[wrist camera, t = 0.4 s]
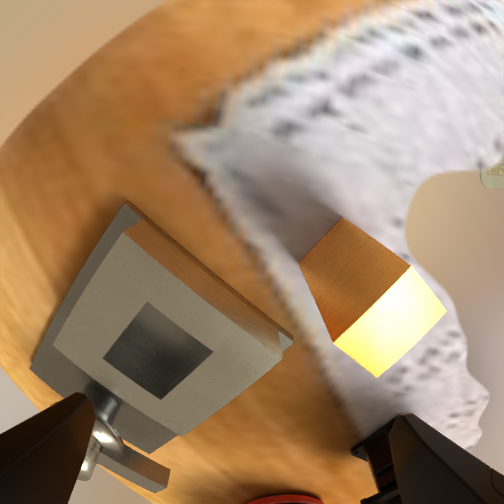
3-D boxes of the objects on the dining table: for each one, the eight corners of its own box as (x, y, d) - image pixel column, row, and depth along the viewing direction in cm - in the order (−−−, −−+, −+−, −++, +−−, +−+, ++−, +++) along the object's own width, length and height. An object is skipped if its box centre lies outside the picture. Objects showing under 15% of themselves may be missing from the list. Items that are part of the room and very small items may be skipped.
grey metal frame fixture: (298, 340, 21) (320, 429, 13) (154, 452, 25) (137, 519, 17) (129, 201, 18) (55, 234, 10) (32, 366, 22) (-13, 421, 14)
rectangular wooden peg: (372, 248, 19) (446, 311, 11) (329, 291, 20) (377, 377, 12) (342, 217, 19) (411, 265, 10) (298, 263, 20) (333, 342, 11)
